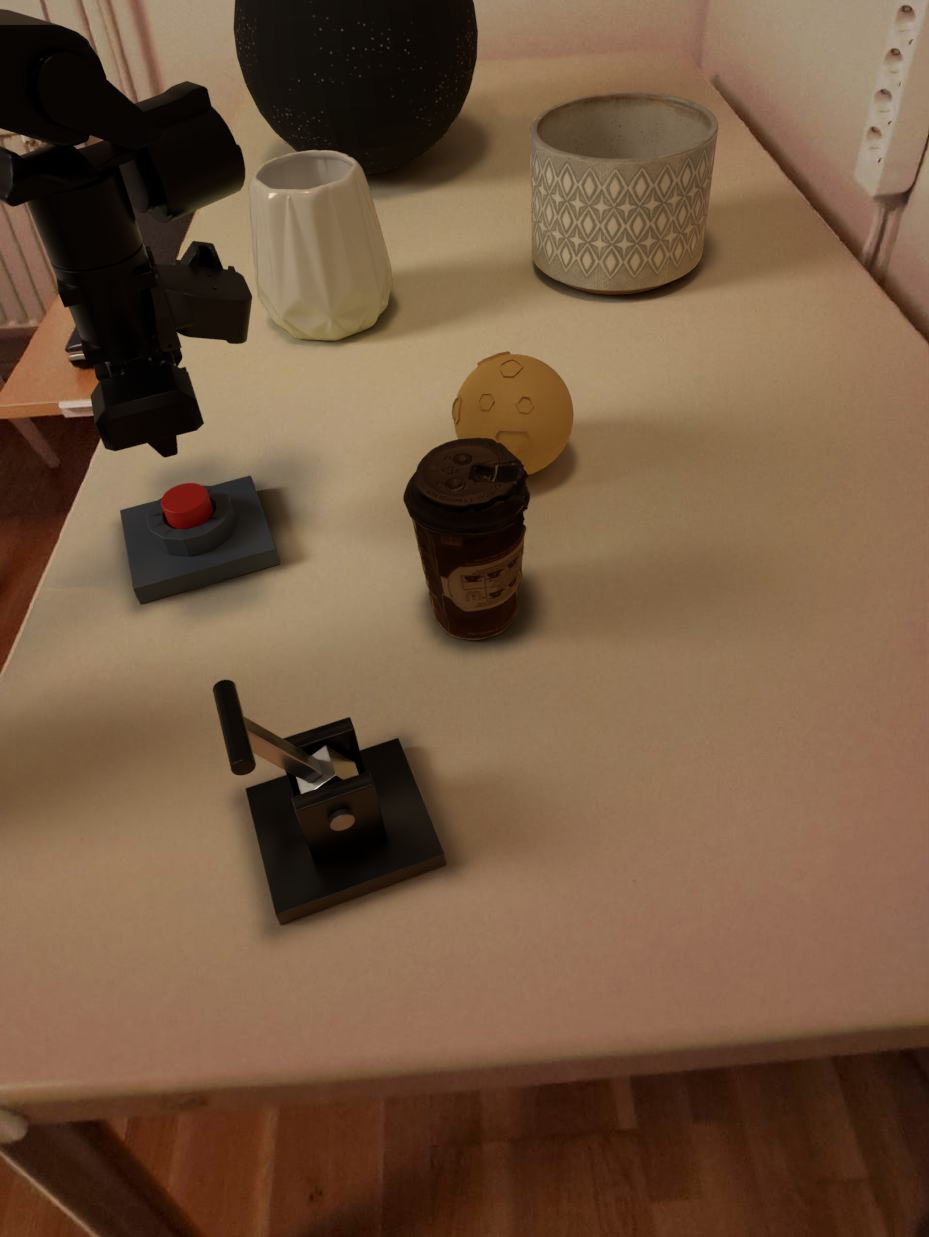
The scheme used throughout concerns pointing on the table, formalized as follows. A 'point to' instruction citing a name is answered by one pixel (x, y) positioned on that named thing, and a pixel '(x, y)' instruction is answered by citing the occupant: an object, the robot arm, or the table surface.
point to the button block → (198, 543)
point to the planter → (620, 190)
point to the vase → (318, 245)
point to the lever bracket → (342, 826)
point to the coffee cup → (470, 533)
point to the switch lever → (273, 746)
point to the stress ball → (516, 408)
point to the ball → (358, 72)
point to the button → (187, 506)
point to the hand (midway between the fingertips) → (170, 453)
